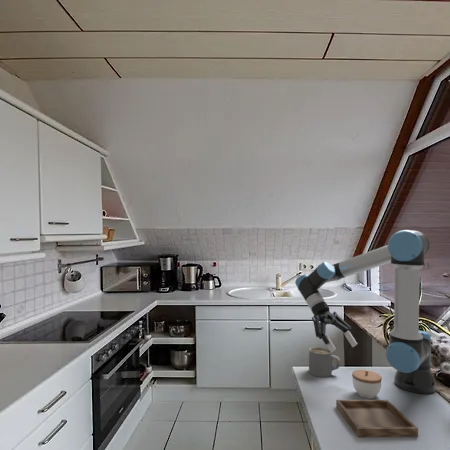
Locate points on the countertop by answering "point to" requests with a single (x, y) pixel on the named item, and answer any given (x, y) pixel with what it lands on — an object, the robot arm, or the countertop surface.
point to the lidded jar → (366, 383)
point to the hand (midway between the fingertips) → (344, 348)
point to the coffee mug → (322, 362)
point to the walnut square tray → (376, 418)
